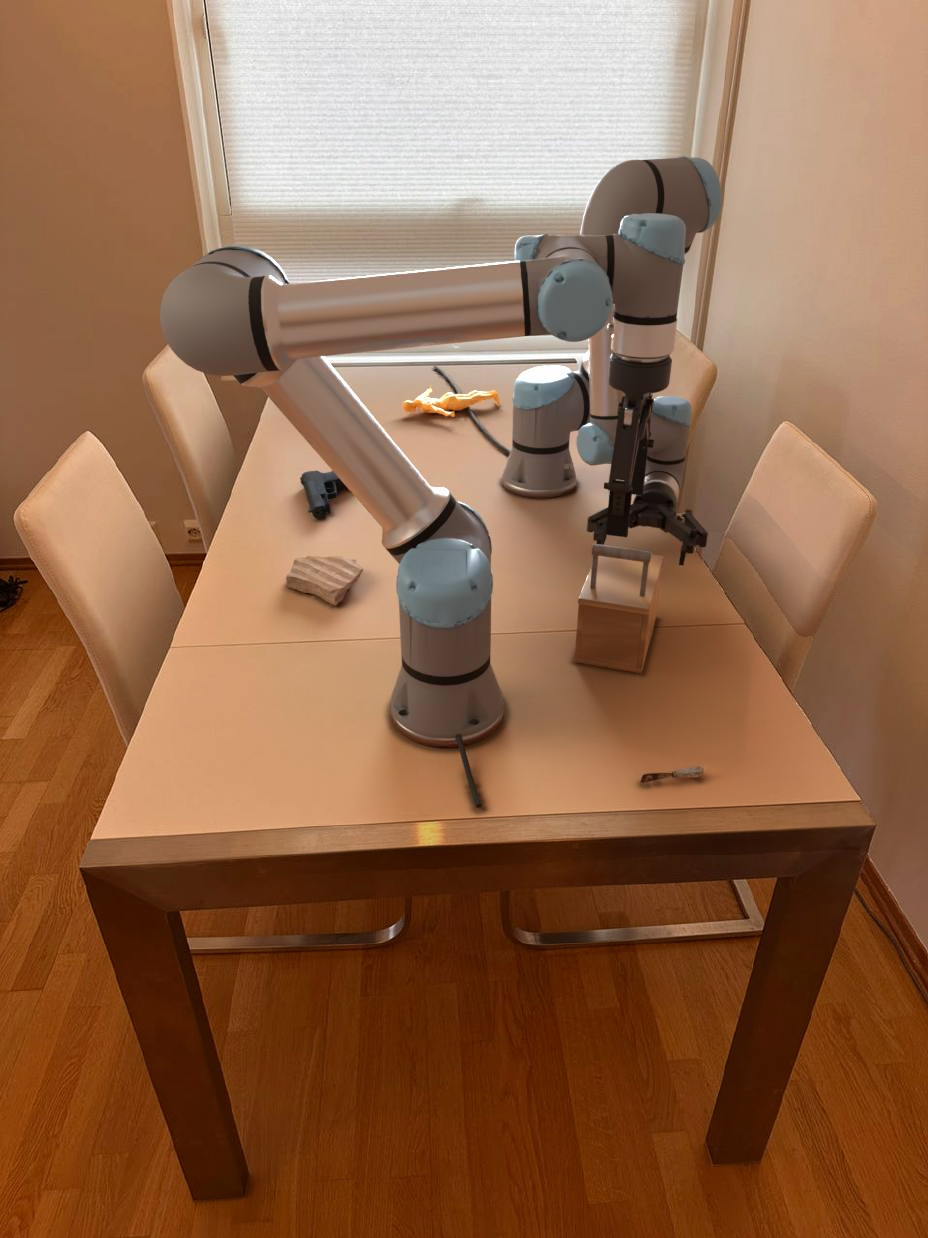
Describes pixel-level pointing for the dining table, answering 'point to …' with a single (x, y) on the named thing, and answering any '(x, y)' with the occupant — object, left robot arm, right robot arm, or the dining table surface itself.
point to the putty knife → (674, 774)
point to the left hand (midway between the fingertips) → (625, 513)
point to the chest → (615, 636)
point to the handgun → (321, 491)
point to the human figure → (448, 402)
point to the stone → (323, 576)
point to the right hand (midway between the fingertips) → (639, 552)
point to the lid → (621, 579)
